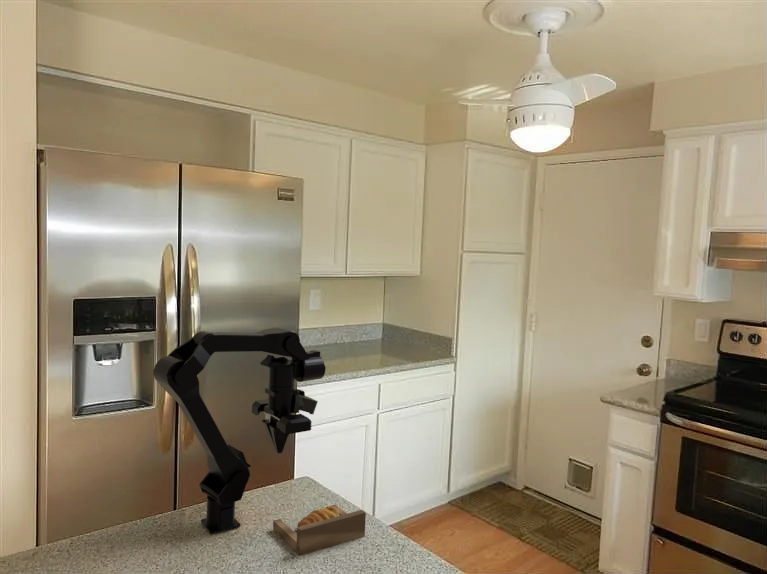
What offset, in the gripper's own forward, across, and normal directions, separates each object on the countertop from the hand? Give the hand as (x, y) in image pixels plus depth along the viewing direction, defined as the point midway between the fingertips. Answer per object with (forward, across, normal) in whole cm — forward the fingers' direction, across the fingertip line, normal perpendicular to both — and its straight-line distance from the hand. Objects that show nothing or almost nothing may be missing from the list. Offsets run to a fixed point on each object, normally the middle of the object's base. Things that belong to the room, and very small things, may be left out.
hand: (279, 452), depth 132 cm
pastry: (+13, -14, -4) cm, 19 cm away
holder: (+12, -15, -2) cm, 20 cm away
